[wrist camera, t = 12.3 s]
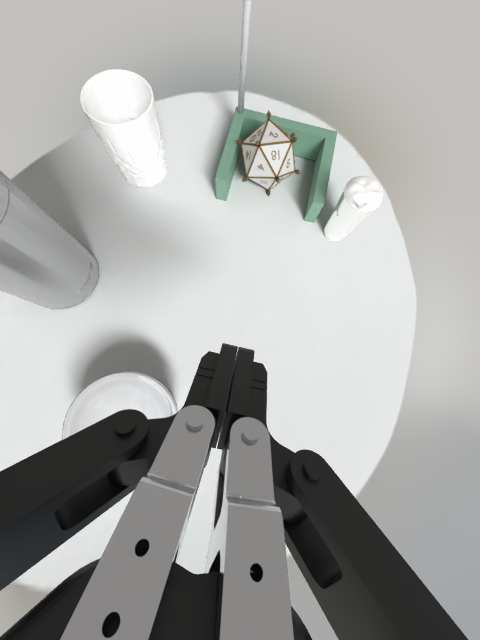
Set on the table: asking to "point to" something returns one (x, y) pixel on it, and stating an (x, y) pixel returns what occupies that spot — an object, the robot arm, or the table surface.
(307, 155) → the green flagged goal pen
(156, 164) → the white cup
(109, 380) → the ramekin
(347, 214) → the milkshake
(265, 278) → the table surface
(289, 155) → the game die
